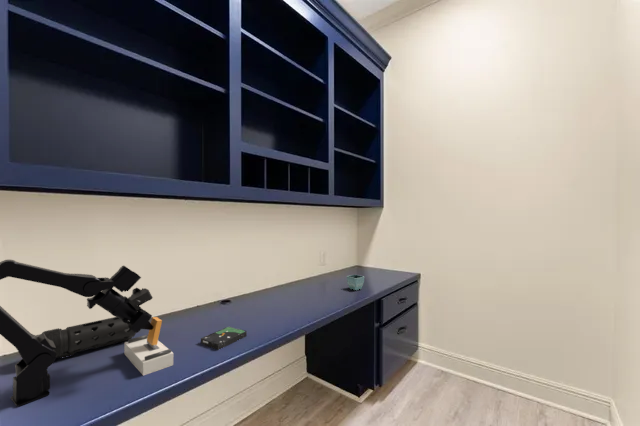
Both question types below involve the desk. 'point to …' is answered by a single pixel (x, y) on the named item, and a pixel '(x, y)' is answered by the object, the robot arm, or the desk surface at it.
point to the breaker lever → (154, 332)
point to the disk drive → (223, 337)
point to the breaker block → (147, 355)
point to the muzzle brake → (89, 336)
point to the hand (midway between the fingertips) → (152, 328)
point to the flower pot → (355, 281)
